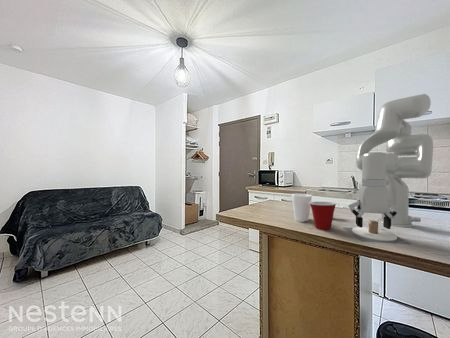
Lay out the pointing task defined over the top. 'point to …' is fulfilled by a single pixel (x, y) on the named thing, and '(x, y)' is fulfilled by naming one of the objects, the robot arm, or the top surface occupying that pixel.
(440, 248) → the top surface
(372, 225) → the lid
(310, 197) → the foam cup
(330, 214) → the plastic cup
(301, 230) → the top surface
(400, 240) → the mat
